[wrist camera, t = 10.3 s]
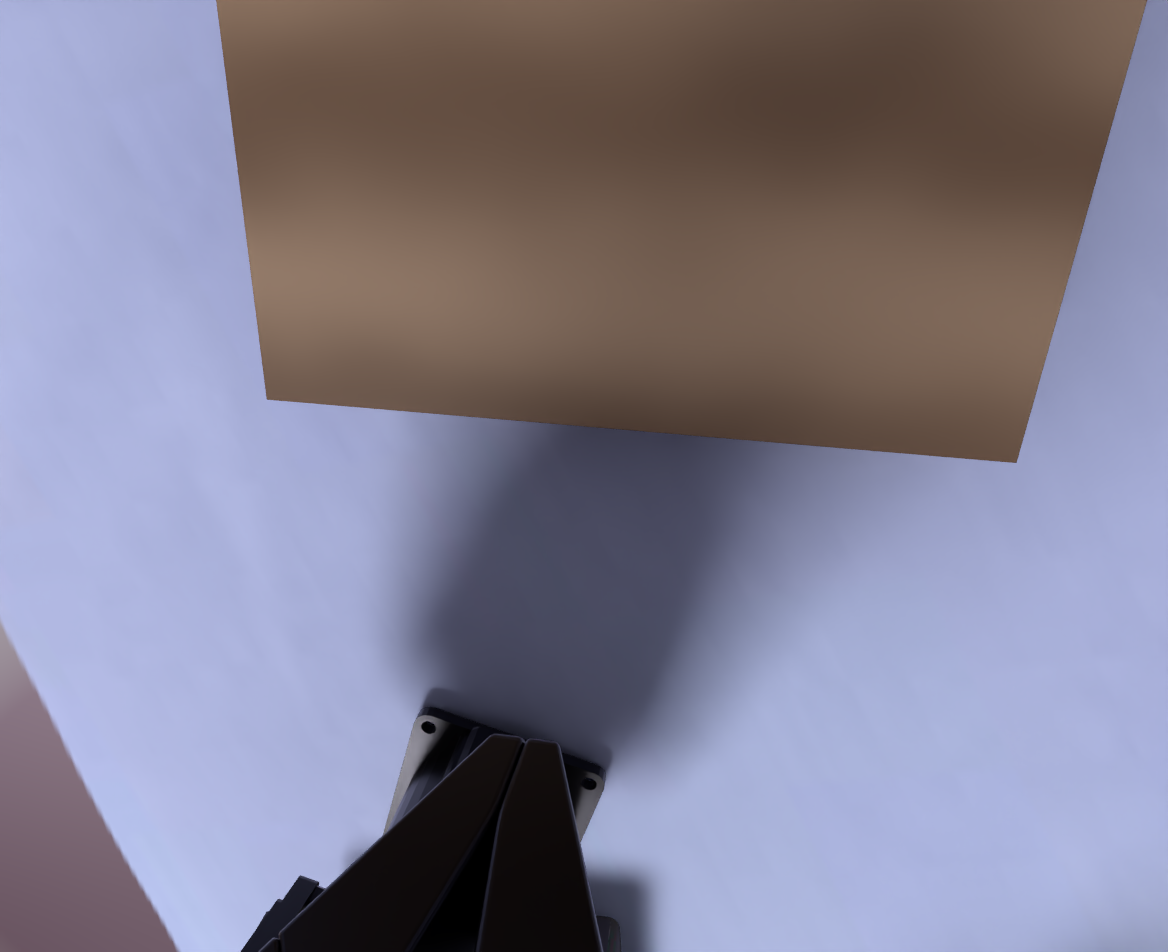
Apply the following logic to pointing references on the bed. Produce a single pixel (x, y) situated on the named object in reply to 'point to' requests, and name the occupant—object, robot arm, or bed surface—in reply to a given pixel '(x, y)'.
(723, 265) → the paper towel roll tray
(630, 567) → the bed surface
